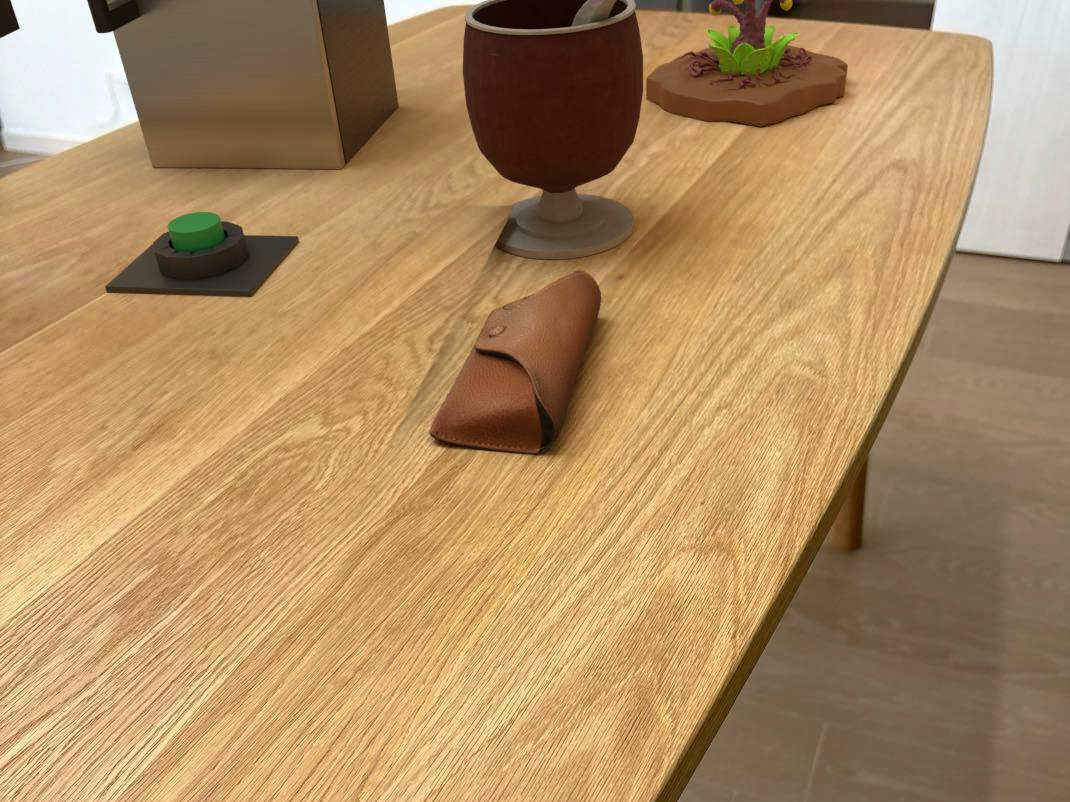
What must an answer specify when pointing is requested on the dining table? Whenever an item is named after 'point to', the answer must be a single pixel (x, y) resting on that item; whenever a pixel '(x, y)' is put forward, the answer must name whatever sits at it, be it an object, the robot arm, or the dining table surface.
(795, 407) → the dining table surface
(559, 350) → the sunglasses case
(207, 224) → the button
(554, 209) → the mate gourd
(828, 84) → the plant
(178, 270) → the panel
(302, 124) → the dishwasher door
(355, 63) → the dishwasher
